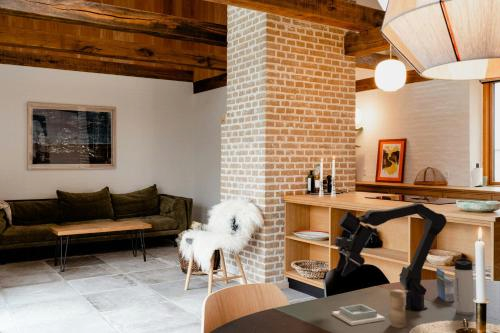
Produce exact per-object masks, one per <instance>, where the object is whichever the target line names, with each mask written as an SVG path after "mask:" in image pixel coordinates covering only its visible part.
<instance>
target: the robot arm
mask: <svg viewBox="0 0 500 333" xmlns="http://www.w3.org/2000/svg"><path fill="white" fill-rule="evenodd" d="M414 215H418V216H419V217H420V218H422V219H423V220H424V223H423V234H422V236H421V238H420V239H419V242H418V245H417V247H416V249H415V252H414V254H413V255H412V256H413V257H412V259H411V261H410V264H409V265H408V266H407V267H405V266H403V267H402V269H401V272H400V273H399V275H398V276H399V282H400V284H401V286H402V287H404V291H405V309H408V310H411V311H414V312H417V311H422V310H426V309H427V310H428V307H427V306H425V295H426V293H427V288H425V287H424V286H423V285H422V283H421V281H422V270H423V268H424V265H425V263H426V261H427V259H428V256H429V253H430V252H431V248H432V246H433V244H434V241H435V239H436V238H437V236H438V235H439V234H440V233H441V232H442V231H443V229H444V228H445V227H446V225H447V222H448V221H447V218H446V216H445V215H444V214H442V213H439V212H435V211H434V210H432V209H430V208H428V207H427V206H425V205H424V204H423V203H419V202H415V203H413V204H412V203H411V204H408V205H403V206H399V207H398V206H397V207H393V208H389V209H369V210H367V211H365V213H364V214H362V215H360V216H356V215H354V214H353V213H351V212H350V211H346V212H345V213H344V214H343V216H342V217H340V219H339V220H338V223H337V225H338V227H340V228H342V229H344V230H345V231H347V232H348V233H349V234H351V233H354V234H353V236H350V237H349V238H347V237H343V236H342V237H338V236H334V239H333V240H334V241H333V246H334V247H338V248H337V253H338V261H337V263H336V264H337V265H336V267H335V268H336V269H335V271H336V272H339V271H341V270H342V269H343V270H342V272H341V277H346V276H347V275H348V274H350V273H351V272H354V271H355V270H356V269H358V268H360V267H361V266H362V267H363V266H364V264H365V262H366V261H365V258H364V257H363V256H362V254H361V253H362V252H363V250H364V249H366V248H367V243H368V242H369V240H370V239H371V237H372V235H375V236H379V232H378V228H377V227H378V226H381V225H383V224H385V223H387V222H388V221H390V220H395V219H400V218H404V217H409V216H414ZM363 224H364V225H363ZM371 226H373V227H371Z"/></svg>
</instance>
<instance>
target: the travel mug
mask: <svg viewBox="0 0 500 333" xmlns="http://www.w3.org/2000/svg"><path fill="white" fill-rule="evenodd" d="M473 270H474V269H473V261H472V260H470V259H466V258H465V257H464V258H463V257H462V258H461V257H460V258H459V259H455V260H454V285H455V286H454V287H455V290H454V291H455V292H454V295H455V312H456V314H458V315H461V316H473V315H474V314H475V302H473V299H474V298H475V294H474V272H473ZM474 300H475V299H474Z"/></svg>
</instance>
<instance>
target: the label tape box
mask: <svg viewBox="0 0 500 333" xmlns="http://www.w3.org/2000/svg"><path fill="white" fill-rule="evenodd" d="M436 286H437V287H436V288H437V297H439V298H440V299H441V300H443V301H444V302H447V303H448V302H455V292H454V291H455V290H454V281H453V280H451V279H450V278H448V277H446V276H445V271H443V270H442V269H440V268H438V267H436Z"/></svg>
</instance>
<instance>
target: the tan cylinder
mask: <svg viewBox="0 0 500 333" xmlns="http://www.w3.org/2000/svg"><path fill="white" fill-rule="evenodd" d="M389 304H390V306H389V307H390V310H389V311H390V325H391V327H394V328H399V329H401V328H405V327H407V326H406V325H407V324H406V323H407V322H406V308H405V305H406V290H403V289H391V290H390V289H389Z"/></svg>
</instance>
